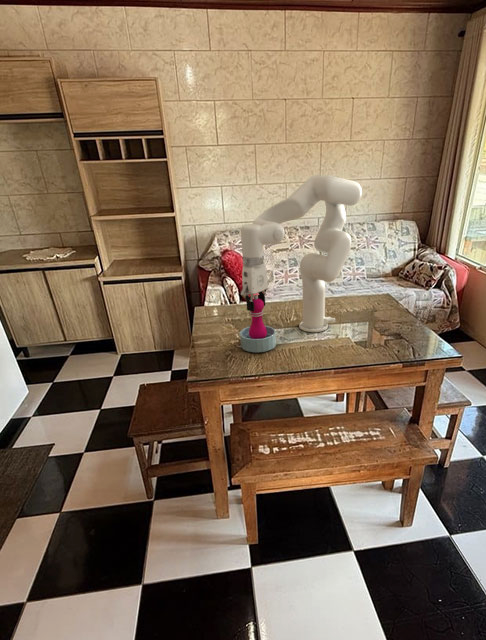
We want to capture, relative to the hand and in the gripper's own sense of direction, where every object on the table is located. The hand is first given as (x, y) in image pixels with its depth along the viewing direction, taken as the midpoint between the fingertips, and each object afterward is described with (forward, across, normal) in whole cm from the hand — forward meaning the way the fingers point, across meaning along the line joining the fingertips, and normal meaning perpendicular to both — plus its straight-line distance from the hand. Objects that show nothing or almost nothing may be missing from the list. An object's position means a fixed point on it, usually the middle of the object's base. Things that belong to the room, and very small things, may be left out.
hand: (256, 307), depth 156 cm
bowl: (+16, 0, 0) cm, 16 cm away
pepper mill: (+15, 0, 0) cm, 15 cm away
